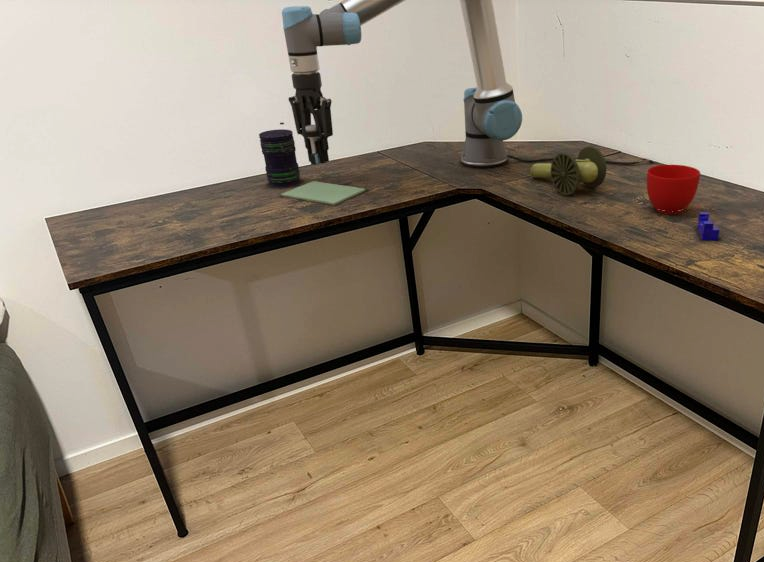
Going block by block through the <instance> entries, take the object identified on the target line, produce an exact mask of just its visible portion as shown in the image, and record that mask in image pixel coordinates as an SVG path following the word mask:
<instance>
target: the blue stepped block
mask: <svg viewBox="0 0 764 562" xmlns="http://www.w3.org/2000/svg"><path fill="white" fill-rule="evenodd" d="M697 218H698V219H697V227H696V229H697V231H698V234H699V236H700V238H701V240H702V241H719V236H720V228H719V227H718V226H714V225H715V224H714V221H710V220H709V219H710V213H709V212H708V211H699V212H698V217H697ZM698 224H699V225H698ZM700 230H701V231H700Z"/></svg>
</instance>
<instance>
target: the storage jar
mask: <svg viewBox="0 0 764 562" xmlns="http://www.w3.org/2000/svg"><path fill="white" fill-rule="evenodd" d="M279 125H285V122H279ZM258 137H259V142H260V148H261V153H262V155H263V158H264V164H265V168H264V169H265V172H266V173H265V175H266V178H267V181H268V186H269V187H270V188H273V189H287V188H293V187H297V186H299V185H300V184H301V183H302V180H301V171H300V165H299V163H298V161H297V156H296V155H297V154H296V151H297V150H296V143H295V139H294V133H293V130H291V129H280V128H279V129H269V130H265V131H262V132H260V133H259V134H258Z"/></svg>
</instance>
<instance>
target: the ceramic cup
mask: <svg viewBox="0 0 764 562" xmlns="http://www.w3.org/2000/svg"><path fill="white" fill-rule="evenodd" d="M700 178H701V172H700V170H699V169H697V168H695V167H692V166H689V165H683V164H660V165H655V166H651V167H649V168H648V169H647V171H646V191H647V196H648V199H649V201H650V203H651V205H652V206H653V207H654V209H655V210H656V212H658V213H660V214H664V215H679V214H680V213H682V212H683V211H684V210H685V209H686V208H687V207H688V206H690V204H691V203H692V202H693V200H694V199H695V196H696V193H697V191H698V187H699V183H700ZM656 208H657V209H656ZM658 209H660V210H658ZM682 209H683V210H682ZM662 210H665V211H662ZM678 210H681V211H678ZM672 211H673V212H672Z"/></svg>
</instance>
